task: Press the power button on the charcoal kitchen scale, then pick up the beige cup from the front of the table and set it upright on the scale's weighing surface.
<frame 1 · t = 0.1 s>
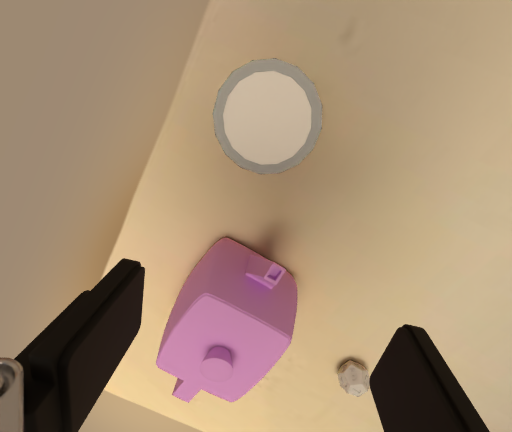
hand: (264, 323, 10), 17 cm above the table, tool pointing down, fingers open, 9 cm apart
teapot: (237, 285, 31), on the table
game die: (350, 365, 34), on the table
beige cup: (270, 115, 24), on the table
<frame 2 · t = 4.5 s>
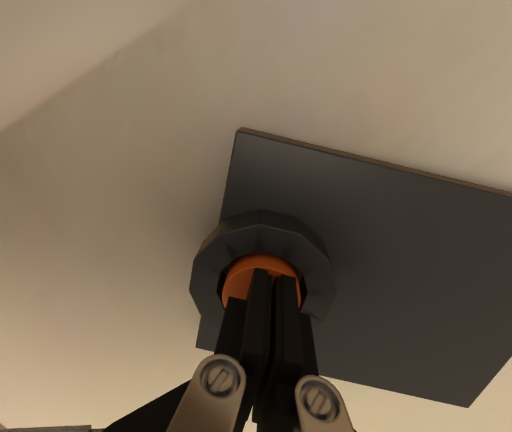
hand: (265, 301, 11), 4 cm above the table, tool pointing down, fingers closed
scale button: (261, 286, 12), point 3 cm above the table, slide at -0.7 cm, touching gripper
scale: (365, 278, 15), on the table
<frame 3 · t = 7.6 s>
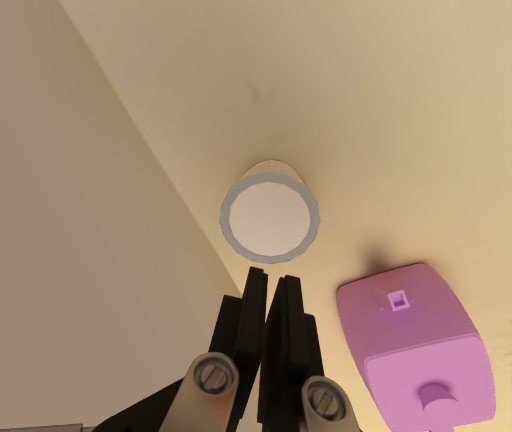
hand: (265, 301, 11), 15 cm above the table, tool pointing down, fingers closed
teapot: (389, 309, 30), on the table
beige cup: (271, 190, 25), on the table
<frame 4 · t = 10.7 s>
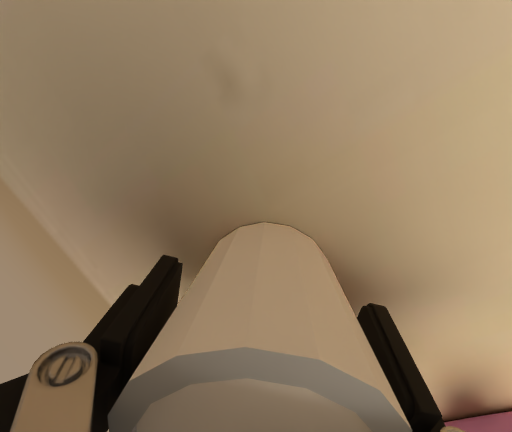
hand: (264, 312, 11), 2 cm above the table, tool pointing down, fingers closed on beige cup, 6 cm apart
beige cup: (267, 276, 13), on the table, touching gripper
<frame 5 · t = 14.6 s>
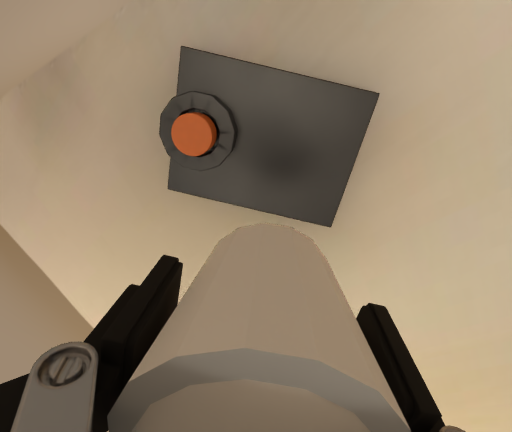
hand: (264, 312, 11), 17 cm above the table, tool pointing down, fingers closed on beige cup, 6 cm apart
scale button: (194, 134, 22), point 3 cm above the table, slide at 0.1 cm
scale: (264, 143, 25), on the table
beige cup: (266, 276, 13), point 15 cm above the table, touching gripper
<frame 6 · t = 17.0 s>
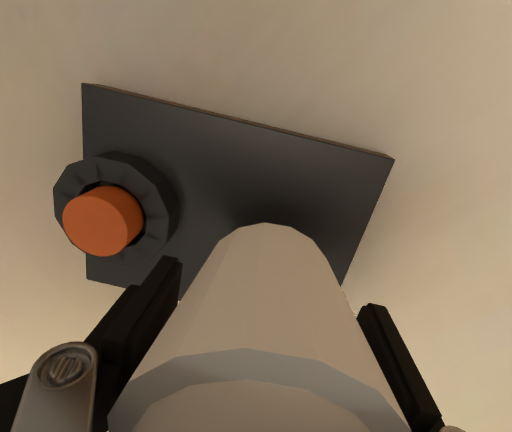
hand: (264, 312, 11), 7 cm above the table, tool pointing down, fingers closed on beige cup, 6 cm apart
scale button: (105, 220, 14), point 3 cm above the table, slide at 0.1 cm
scale: (223, 218, 17), on the table
beige cup: (267, 276, 13), point 5 cm above the table, touching gripper
when the fingers open (4 cm above the table, at t = 18.8 s): beige cup stays where it is, resting on scale.
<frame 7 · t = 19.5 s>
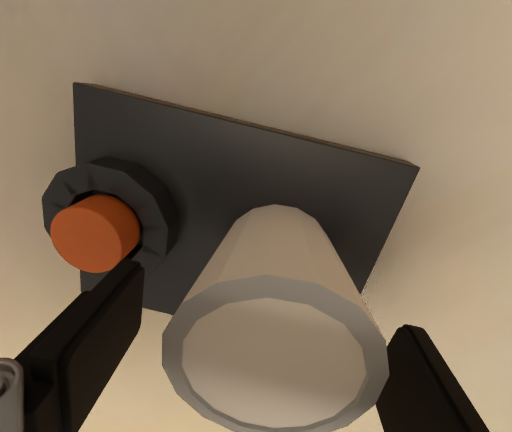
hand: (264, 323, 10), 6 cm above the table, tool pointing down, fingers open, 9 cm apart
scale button: (98, 233, 13), point 3 cm above the table, slide at 0.1 cm
scale: (228, 229, 16), on the table
beige cup: (276, 252, 15), point 1 cm above the table, touching scale
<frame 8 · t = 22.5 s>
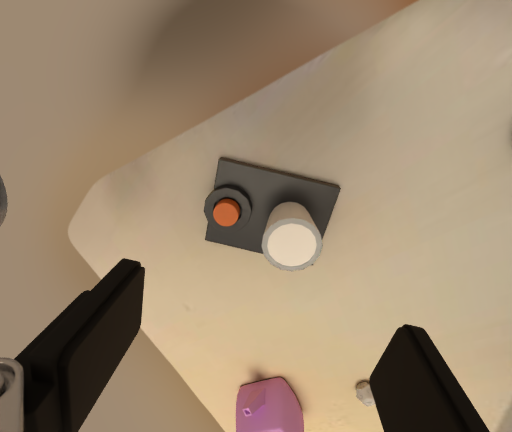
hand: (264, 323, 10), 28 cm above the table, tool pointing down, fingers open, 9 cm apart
teapot: (270, 396, 54), on the table
game die: (363, 384, 51), on the table
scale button: (226, 212, 36), point 3 cm above the table, slide at 0.1 cm
scale: (269, 212, 39), on the table
beige cup: (289, 220, 38), point 1 cm above the table, touching scale
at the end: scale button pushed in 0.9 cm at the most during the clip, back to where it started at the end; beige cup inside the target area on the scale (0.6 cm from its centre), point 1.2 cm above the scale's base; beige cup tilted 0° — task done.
